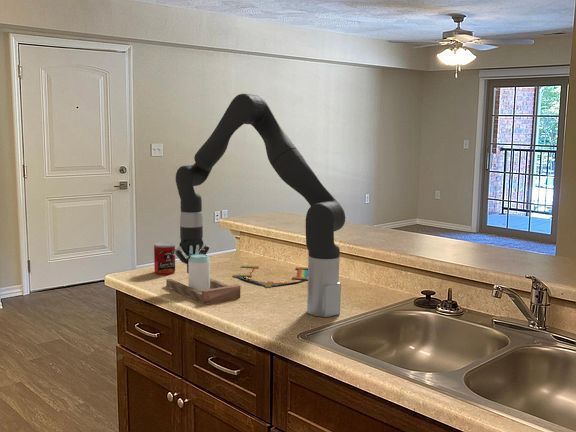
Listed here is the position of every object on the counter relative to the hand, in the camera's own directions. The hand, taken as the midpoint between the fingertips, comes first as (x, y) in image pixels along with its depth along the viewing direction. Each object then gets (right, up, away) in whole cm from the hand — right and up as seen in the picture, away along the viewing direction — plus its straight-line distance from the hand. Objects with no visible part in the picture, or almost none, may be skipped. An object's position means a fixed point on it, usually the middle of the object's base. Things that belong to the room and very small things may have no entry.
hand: (191, 274), depth 210 cm
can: (+3, -5, -4) cm, 7 cm away
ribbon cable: (+27, -3, +16) cm, 32 cm away
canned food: (-13, -1, +20) cm, 24 cm away
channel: (+4, -5, -5) cm, 8 cm away
